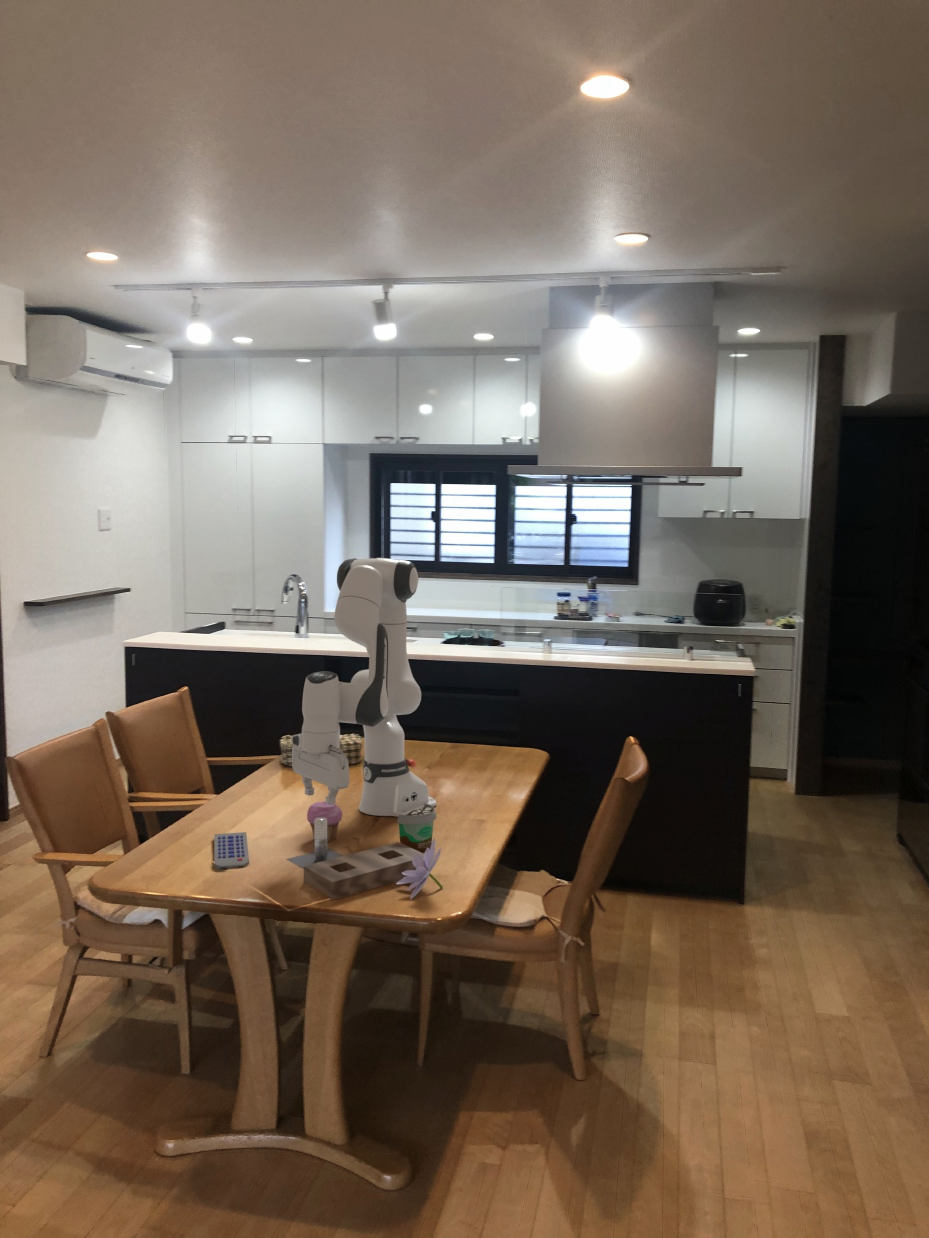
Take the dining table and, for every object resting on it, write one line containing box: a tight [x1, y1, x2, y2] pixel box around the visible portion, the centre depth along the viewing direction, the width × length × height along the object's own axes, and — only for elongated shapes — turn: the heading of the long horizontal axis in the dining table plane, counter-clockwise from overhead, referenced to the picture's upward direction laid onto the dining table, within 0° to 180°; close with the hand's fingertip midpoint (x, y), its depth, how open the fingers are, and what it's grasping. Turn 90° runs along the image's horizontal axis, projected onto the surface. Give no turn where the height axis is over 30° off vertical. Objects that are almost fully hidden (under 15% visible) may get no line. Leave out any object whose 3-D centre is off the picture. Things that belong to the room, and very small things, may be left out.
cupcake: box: [306, 800, 343, 843], centre depth 242 cm, size 9×9×10 cm
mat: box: [286, 848, 344, 870], centre depth 227 cm, size 12×12×1 cm
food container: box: [396, 803, 438, 854], centre depth 236 cm, size 12×6×10 cm, turn 148°
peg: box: [313, 818, 328, 863], centre depth 226 cm, size 3×3×10 cm
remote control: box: [213, 831, 250, 872], centre depth 232 cm, size 8×23×2 cm, turn 14°
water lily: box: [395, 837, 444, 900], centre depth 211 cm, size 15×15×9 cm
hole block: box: [303, 841, 424, 901], centre depth 217 cm, size 26×12×4 cm, turn 130°
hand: (319, 799), depth 225 cm, fingers open, 8 cm apart
